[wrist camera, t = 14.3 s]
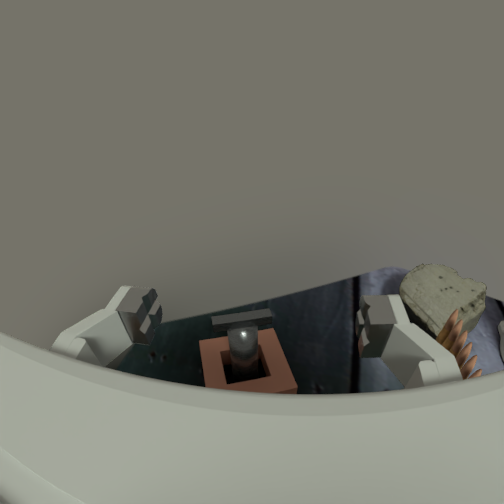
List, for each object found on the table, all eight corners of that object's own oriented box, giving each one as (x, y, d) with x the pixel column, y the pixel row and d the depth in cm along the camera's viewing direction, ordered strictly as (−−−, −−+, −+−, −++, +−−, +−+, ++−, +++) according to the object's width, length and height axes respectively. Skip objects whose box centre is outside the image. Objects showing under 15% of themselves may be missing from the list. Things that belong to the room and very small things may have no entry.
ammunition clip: (415, 368, 33) (448, 303, 27) (426, 368, 32) (461, 303, 26) (425, 435, 24) (476, 377, 18) (437, 434, 23) (490, 376, 17)
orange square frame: (272, 342, 39) (273, 327, 38) (295, 399, 31) (297, 387, 29) (202, 355, 38) (199, 340, 36) (212, 416, 29) (208, 405, 28)
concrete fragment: (445, 363, 30) (403, 266, 35) (412, 365, 39) (379, 287, 45) (503, 314, 31) (466, 232, 36) (469, 326, 40) (437, 256, 46)
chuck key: (266, 364, 36) (267, 302, 30) (271, 383, 33) (274, 322, 28) (220, 371, 35) (210, 310, 30) (224, 391, 32) (213, 332, 27)
